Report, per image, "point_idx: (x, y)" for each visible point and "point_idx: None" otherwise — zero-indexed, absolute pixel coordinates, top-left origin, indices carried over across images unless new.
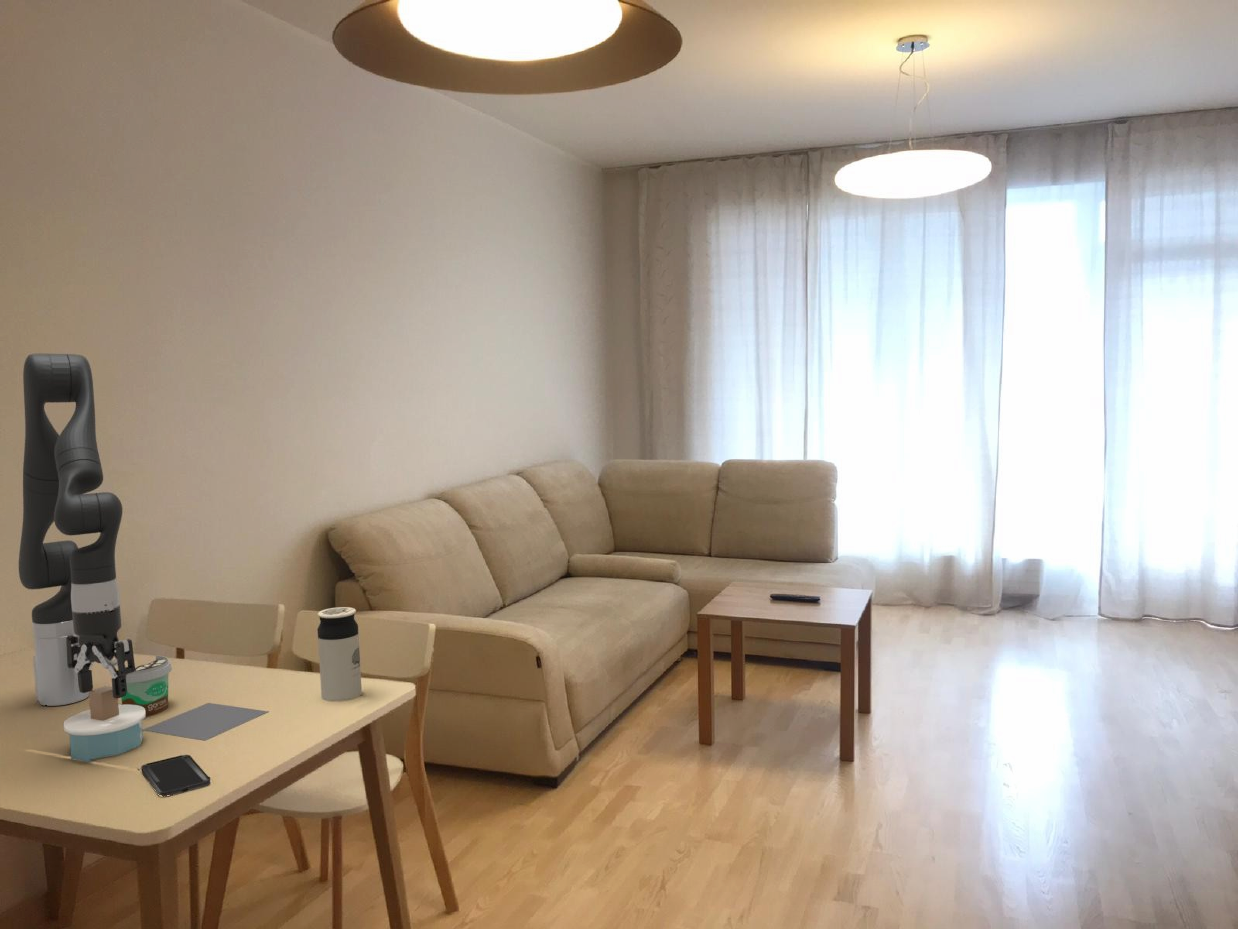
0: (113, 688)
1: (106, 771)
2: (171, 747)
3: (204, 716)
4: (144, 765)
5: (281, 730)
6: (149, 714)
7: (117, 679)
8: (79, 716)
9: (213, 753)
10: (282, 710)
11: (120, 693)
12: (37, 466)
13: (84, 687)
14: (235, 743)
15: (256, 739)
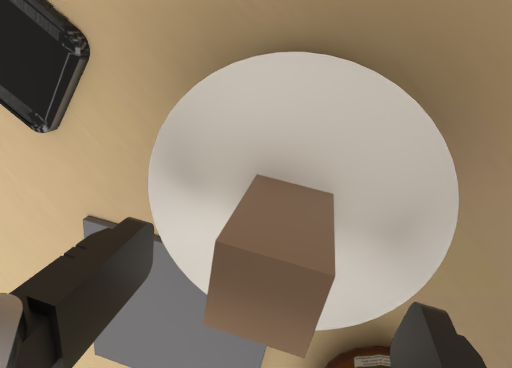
0: (101, 249)
1: (174, 11)
2: (142, 193)
3: (196, 344)
4: (74, 46)
5: (18, 280)
6: (335, 365)
7: (26, 299)
8: (412, 217)
9: (28, 167)
10: (95, 364)
11: (95, 236)
12: None
13: (417, 338)
14: (36, 220)
15: (19, 240)
